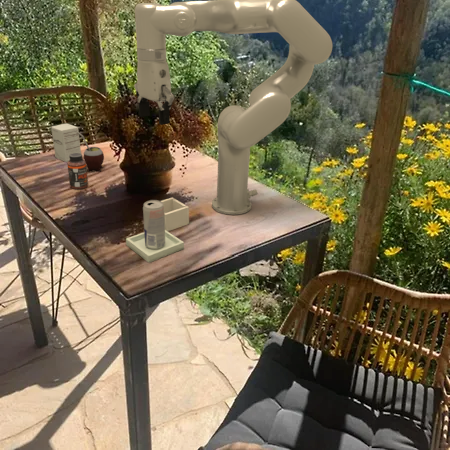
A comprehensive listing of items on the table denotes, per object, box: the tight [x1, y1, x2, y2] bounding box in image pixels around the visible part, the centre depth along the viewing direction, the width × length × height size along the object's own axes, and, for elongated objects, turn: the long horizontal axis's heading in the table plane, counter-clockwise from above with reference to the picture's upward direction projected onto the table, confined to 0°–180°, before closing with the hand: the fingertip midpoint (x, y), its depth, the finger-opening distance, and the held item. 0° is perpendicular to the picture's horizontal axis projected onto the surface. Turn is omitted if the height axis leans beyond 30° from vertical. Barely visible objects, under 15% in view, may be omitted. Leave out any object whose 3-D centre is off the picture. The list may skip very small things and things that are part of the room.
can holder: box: [160, 197, 190, 232], centre depth 132 cm, size 8×8×6 cm
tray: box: [125, 230, 185, 264], centre depth 120 cm, size 11×11×2 cm
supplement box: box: [51, 123, 82, 163], centre depth 175 cm, size 7×7×13 cm
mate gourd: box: [75, 131, 105, 173], centre depth 164 cm, size 8×8×15 cm
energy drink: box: [142, 199, 165, 249], centre depth 118 cm, size 5×5×12 cm
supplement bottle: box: [66, 153, 89, 190], centre depth 151 cm, size 6×6×11 cm
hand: (154, 120), depth 127 cm, fingers open, 9 cm apart
